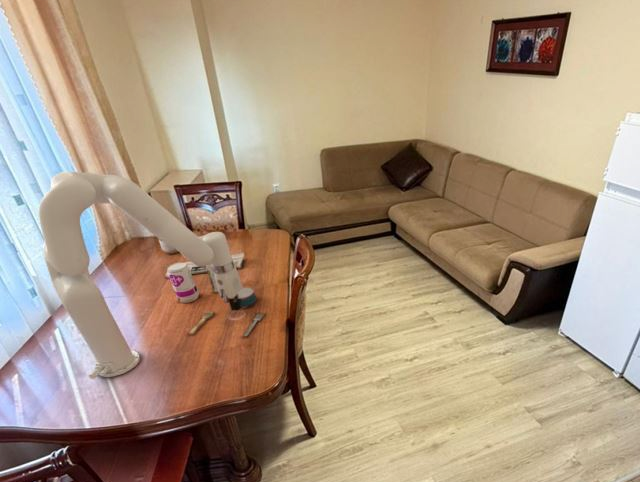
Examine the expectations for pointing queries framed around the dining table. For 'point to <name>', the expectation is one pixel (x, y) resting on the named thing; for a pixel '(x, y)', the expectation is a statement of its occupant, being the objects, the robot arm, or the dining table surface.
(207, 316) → the spoon
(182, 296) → the supplement can
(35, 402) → the dining table surface
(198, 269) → the newspaper
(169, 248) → the teacup
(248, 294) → the tin
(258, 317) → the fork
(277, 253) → the dining table surface
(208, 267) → the syrup box
